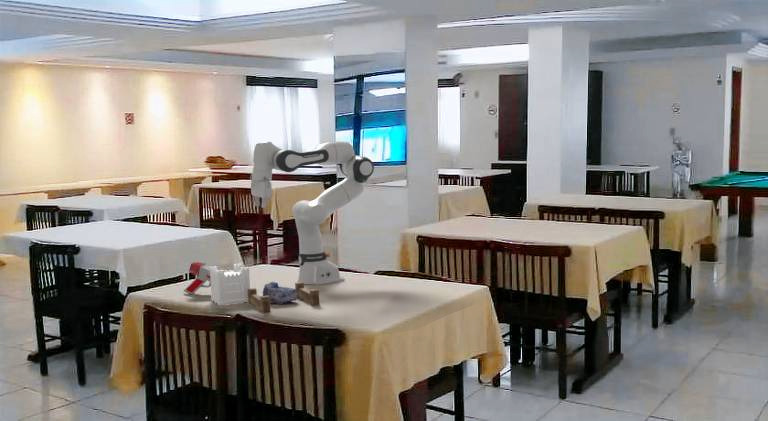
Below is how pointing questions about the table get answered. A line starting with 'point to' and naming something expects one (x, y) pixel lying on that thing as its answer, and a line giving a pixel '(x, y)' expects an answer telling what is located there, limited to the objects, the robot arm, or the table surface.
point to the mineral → (279, 293)
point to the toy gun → (199, 277)
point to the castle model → (230, 285)
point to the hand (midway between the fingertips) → (260, 206)
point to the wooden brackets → (264, 301)
